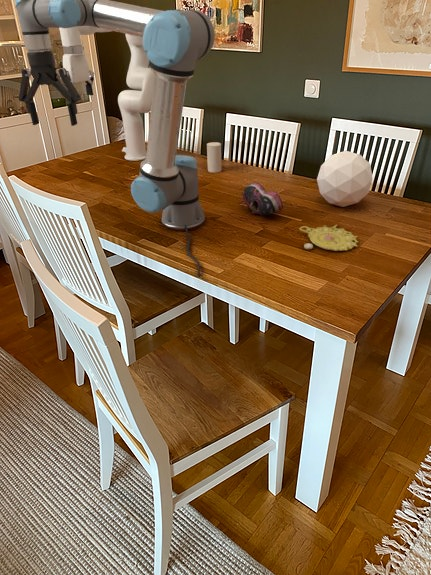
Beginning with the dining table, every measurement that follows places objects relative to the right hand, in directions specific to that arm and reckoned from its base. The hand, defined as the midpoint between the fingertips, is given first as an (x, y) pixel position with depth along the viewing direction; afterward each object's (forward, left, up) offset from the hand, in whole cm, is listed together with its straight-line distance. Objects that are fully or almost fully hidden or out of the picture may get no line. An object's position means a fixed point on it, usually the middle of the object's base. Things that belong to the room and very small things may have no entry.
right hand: (55, 124), depth 144 cm
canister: (+43, -58, -33) cm, 79 cm away
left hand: (+48, -4, +1) cm, 49 cm away
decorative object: (-35, -83, -33) cm, 96 cm away
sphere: (-8, -99, -33) cm, 104 cm away
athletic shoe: (-8, -66, -33) cm, 75 cm away
